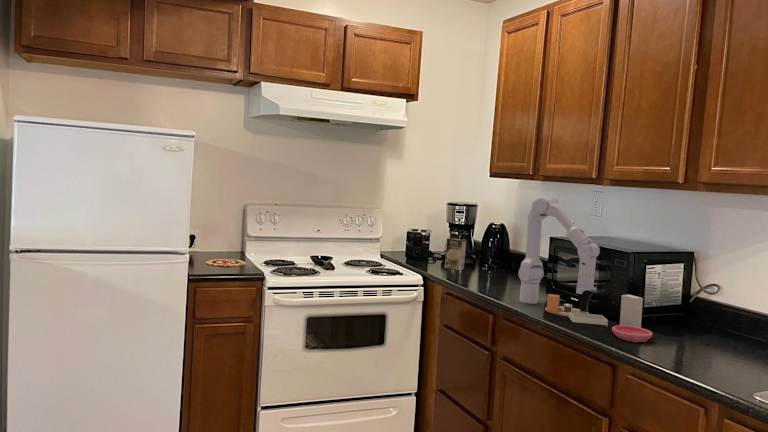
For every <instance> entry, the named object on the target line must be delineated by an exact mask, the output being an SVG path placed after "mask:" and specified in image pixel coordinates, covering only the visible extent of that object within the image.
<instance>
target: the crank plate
mask: <svg viewBox="0 0 768 432" xmlns="http://www.w3.org/2000/svg"><path fill="white" fill-rule="evenodd" d="M559 306H560V305H559ZM560 307H564V306H562V305H561V306H560ZM572 309H577V310H580V308H575V307H572V308H567V307H564V308H563V310H558V312H557V313H556V312H550V311H547V312H548V313H551V314H554V315H558V316H564V317H568V315H569V312H572ZM544 310H545V311H546V310H547V306H546V307H545V308H544ZM572 313H575V312H572ZM587 314H591V313H590V312H589V311H588V312H587Z"/></svg>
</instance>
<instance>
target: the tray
mask: <svg viewBox="0 0 768 432" xmlns="http://www.w3.org/2000/svg"><path fill="white" fill-rule="evenodd" d="M567 317H568V318H569V319H570V321H571V322H572V323H579V324H589V325H600V326H606V328H608V324H609V323H608V322H609V320H608V319H607V318H606V317H605V316H603V315H602V314H594V313H593V314H592V313H590V314H583V313H572V312H569V315H568V316H567Z"/></svg>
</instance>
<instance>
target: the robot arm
mask: <svg viewBox="0 0 768 432" xmlns="http://www.w3.org/2000/svg"><path fill="white" fill-rule="evenodd" d="M547 217H553V218H554V219H555V218H556V220H557V221H558V222H559V224H561V226H563V228H564V229H565V230H566V231H567V238H568V239H569V240H570V242H572V244H573V246H575V247H576V249H577V254H578V258H579V264H578V266H579V267H578V275H577V276H578V277H577V284H576V291H575V294H576V296H577V299H578V306H579V309H580V310H584V311H586V309H587V306H588V307H589V303H590V300H591V298H592V296H593V295H594V292H593V291H596V290H597V287H594V285H595V284H594V282H595V273H596V263H597V257H598V256H599V255H600V252H601V250H600V246H599V244H597V243H596V242H593V239H591V238H589V237H588V235H587V234H586V233H585V230H584V228H581V227H579V226H576V225H575V224H574V222H573V221H572V219H571V217H570V216H569V215H568V214H567V212H566V211H565V209H564V208H563V204H561V203H560V202H559V200H558V199H557V198H556V197H555V198H554V197H551V198H550V197H549V198H548V197H537V198H536V199H535V200H533V201H532V202H531V209H530V210H529V213H528V217H527V229H526V231H527V232H526V233H527V234H526V247H525V249H526V250H525V258H524V259H523V260H522V261H521V263H520V267H519V270H518V277H519V279H520V283H521V284H520V291H519V292H520V293H519V302H521V303H524V304H531V305H535V304H538V303H539V294H540V293H539V291H540V283H541V280H542V279H543V277H544V276H545V272H544V266H543V265H544V264H543V262H542V260H541V259H540V257H541V256H540V255H541V239H542V227H543V226H542V225H543V223H542V222H543V221H544V220H545V219H546V218H547Z"/></svg>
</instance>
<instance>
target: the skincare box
mask: <svg viewBox="0 0 768 432" xmlns="http://www.w3.org/2000/svg"><path fill="white" fill-rule="evenodd" d="M620 298H621V301H620V312H619V313H620V316H619V325H625V326H634V327H639V328H642V317H643V315H642V314H643V306H644V305H643V302H644V297H640V296H638V295H637V296H636V295H632V294H623V295H621V297H620Z"/></svg>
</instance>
